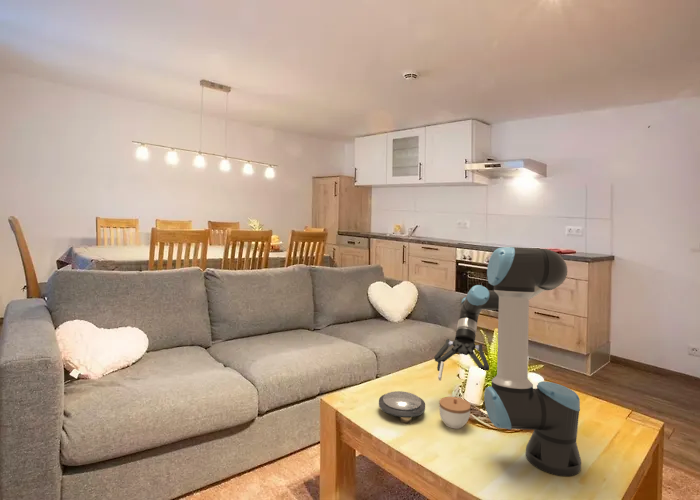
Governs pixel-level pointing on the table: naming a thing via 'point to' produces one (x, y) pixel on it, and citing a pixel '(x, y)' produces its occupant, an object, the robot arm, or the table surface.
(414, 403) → the base
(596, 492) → the table surface
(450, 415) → the lidded jar
